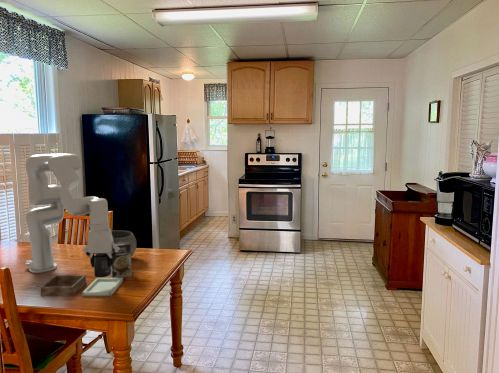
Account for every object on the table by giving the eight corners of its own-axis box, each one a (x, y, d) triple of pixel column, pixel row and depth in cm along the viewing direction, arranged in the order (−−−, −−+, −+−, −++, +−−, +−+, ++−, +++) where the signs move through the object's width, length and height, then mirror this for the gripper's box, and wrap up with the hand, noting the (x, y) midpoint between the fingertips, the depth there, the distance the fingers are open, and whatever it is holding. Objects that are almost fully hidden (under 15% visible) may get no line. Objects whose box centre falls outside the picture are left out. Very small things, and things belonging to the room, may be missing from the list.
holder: (40, 296, 163) (40, 287, 162) (56, 283, 177) (56, 275, 176) (72, 296, 163) (72, 287, 163) (86, 283, 177) (85, 275, 176)
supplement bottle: (112, 271, 174) (111, 246, 172) (109, 277, 167) (107, 250, 165) (97, 272, 173) (95, 246, 171) (92, 278, 166) (90, 251, 164)
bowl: (111, 270, 192) (110, 242, 190) (89, 262, 205) (87, 235, 202) (144, 259, 208) (143, 233, 206) (122, 252, 221) (120, 227, 218)
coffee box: (112, 279, 181) (110, 246, 178) (110, 275, 186) (108, 243, 184) (132, 276, 185) (130, 244, 183) (129, 272, 191) (128, 240, 188)
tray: (82, 296, 163) (82, 292, 163) (97, 281, 179) (96, 277, 179) (110, 296, 163) (110, 292, 163) (122, 281, 179) (122, 277, 179)
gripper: (75, 229, 163) (79, 269, 166) (116, 228, 163) (119, 268, 166) (83, 224, 170) (86, 263, 173) (122, 224, 170) (124, 263, 173)
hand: (102, 265), depth 169 cm, fingers closed on supplement bottle, 6 cm apart
